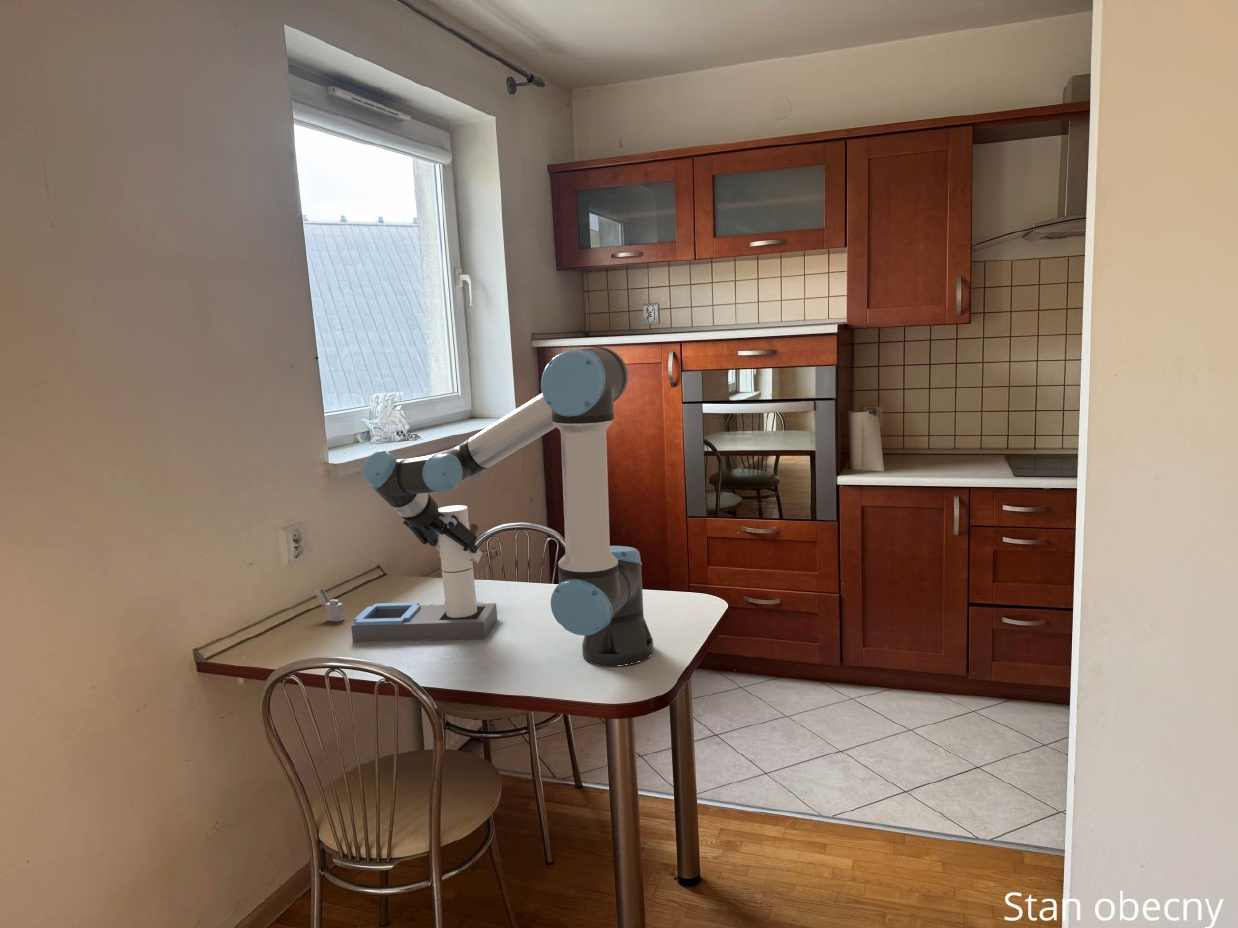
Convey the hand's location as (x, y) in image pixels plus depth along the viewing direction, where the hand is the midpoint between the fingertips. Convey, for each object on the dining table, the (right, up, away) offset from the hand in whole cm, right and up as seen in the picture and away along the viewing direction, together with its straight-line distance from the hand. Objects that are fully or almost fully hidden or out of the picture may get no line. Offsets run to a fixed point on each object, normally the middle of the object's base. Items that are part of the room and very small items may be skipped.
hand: (465, 556), depth 200 cm
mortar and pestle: (-4, -14, +21) cm, 26 cm away
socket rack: (-9, -17, 0) cm, 20 cm away
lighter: (-36, -17, +12) cm, 41 cm away
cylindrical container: (-1, -13, -1) cm, 13 cm away
